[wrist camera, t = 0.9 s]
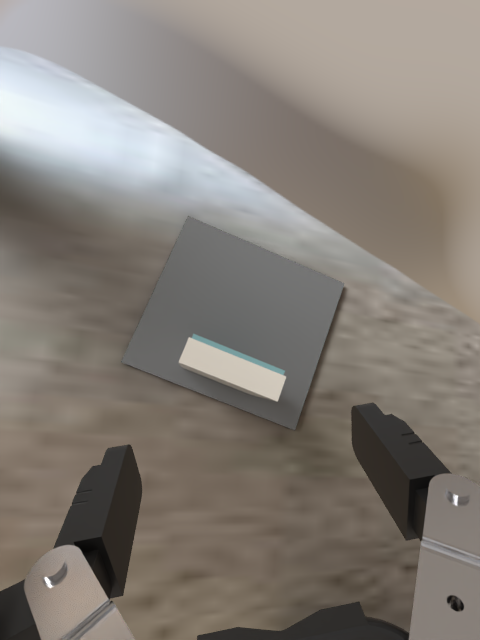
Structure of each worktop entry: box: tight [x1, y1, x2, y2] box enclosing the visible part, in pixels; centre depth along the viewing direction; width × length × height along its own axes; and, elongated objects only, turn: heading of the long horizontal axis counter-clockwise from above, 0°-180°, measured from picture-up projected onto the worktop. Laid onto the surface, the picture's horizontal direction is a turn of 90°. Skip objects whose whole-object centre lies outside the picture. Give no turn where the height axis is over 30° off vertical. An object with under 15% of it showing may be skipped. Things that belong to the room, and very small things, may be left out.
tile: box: [179, 334, 286, 402], centre depth 32 cm, size 8×2×12 cm, turn 69°
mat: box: [121, 216, 344, 430], centre depth 40 cm, size 20×18×1 cm
